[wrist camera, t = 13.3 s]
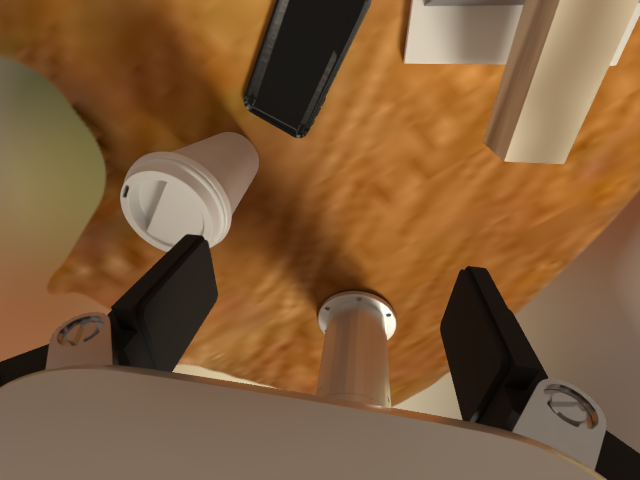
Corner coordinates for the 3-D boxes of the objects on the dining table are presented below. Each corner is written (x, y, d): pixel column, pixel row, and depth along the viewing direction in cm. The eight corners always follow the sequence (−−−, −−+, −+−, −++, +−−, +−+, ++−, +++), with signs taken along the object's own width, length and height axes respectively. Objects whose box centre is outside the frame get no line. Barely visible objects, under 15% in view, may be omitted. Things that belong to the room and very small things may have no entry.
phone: (240, 106, 33) (297, -63, 25) (244, 104, 34) (300, -60, 26) (303, 142, 34) (377, -8, 26) (305, 139, 35) (377, -7, 27)
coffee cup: (236, 100, 34) (158, 135, 21) (286, 171, 38) (245, 236, 25) (181, 145, 38) (87, 196, 25) (231, 205, 41) (172, 275, 29)
